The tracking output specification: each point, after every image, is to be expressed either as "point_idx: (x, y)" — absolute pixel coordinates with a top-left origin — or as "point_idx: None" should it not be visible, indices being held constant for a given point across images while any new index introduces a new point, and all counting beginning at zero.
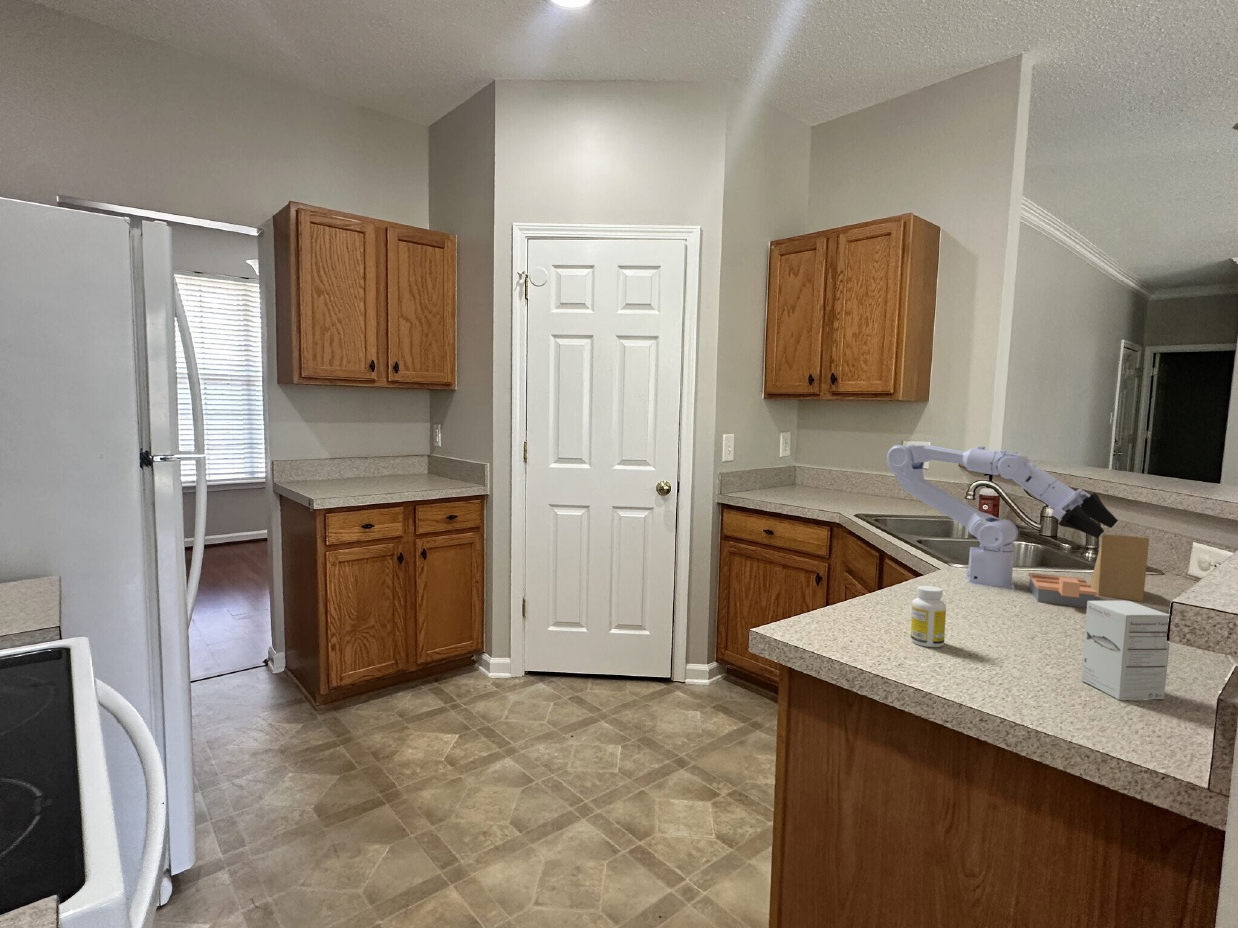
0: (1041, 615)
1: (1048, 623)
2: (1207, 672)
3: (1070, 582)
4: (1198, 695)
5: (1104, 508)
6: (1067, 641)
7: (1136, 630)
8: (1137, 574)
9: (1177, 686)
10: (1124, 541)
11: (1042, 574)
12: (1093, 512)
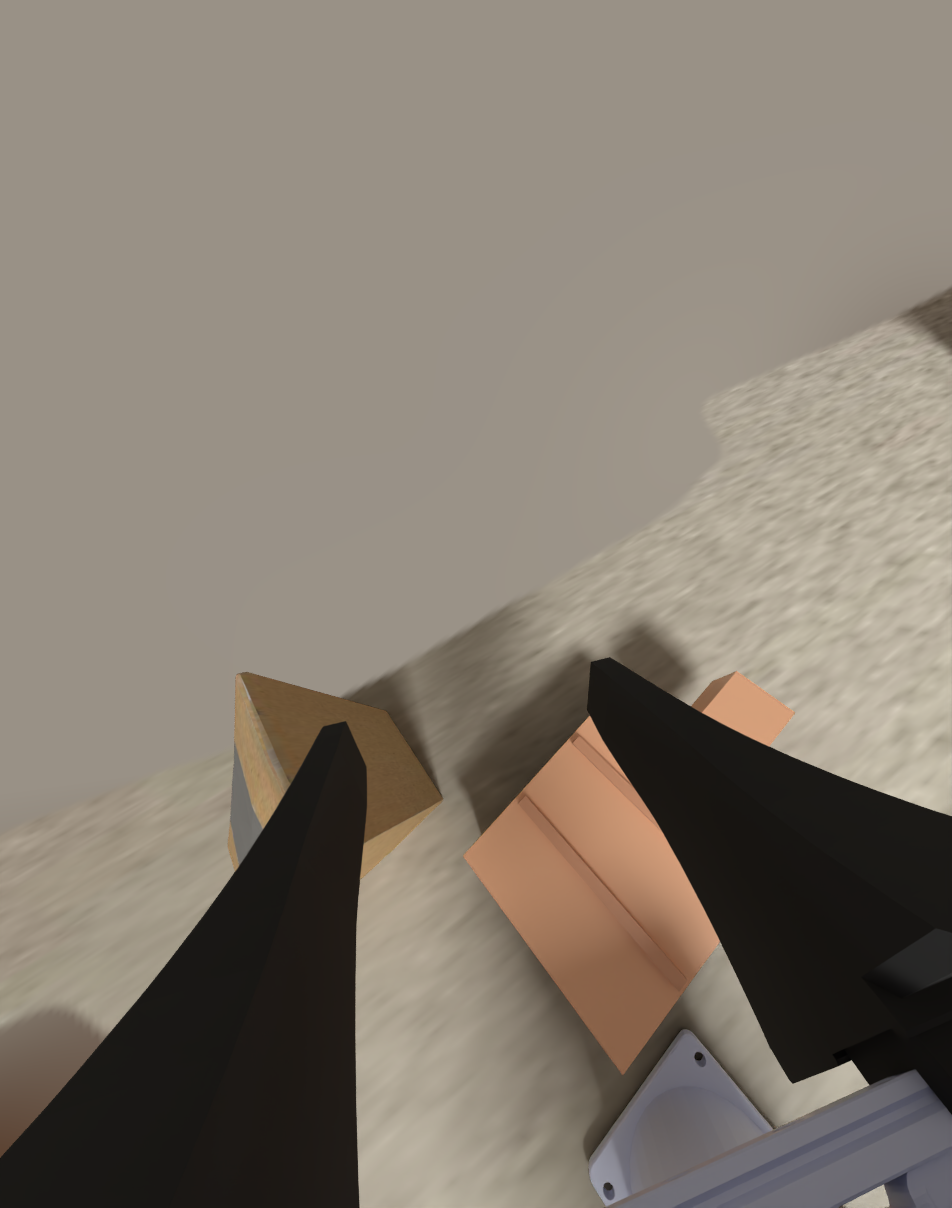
0: (838, 713)
1: (878, 647)
2: (753, 389)
3: (767, 693)
4: (877, 333)
5: (280, 859)
6: (938, 531)
7: None
8: (353, 716)
9: (882, 354)
10: (299, 755)
11: (583, 996)
12: (332, 972)
